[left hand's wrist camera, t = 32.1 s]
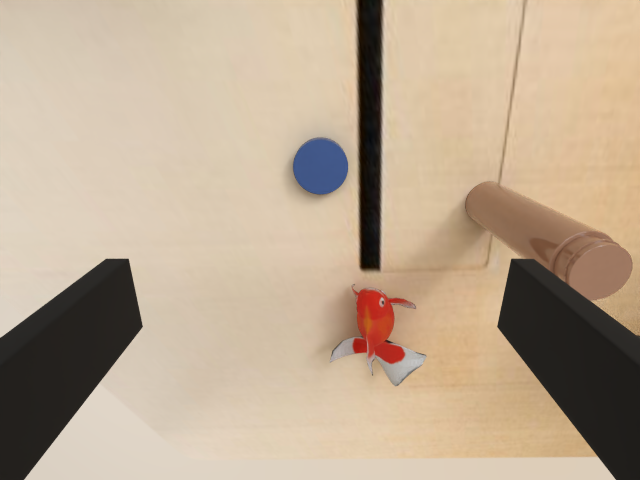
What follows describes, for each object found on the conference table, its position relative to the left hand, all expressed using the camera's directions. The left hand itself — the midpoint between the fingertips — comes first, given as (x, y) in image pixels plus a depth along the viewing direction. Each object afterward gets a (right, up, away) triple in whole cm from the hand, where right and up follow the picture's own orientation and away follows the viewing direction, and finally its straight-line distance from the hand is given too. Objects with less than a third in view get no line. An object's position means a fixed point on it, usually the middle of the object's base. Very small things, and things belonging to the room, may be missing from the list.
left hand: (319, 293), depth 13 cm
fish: (+7, -8, +34) cm, 36 cm away
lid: (0, +10, +25) cm, 27 cm away
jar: (+19, +6, +28) cm, 35 cm away
